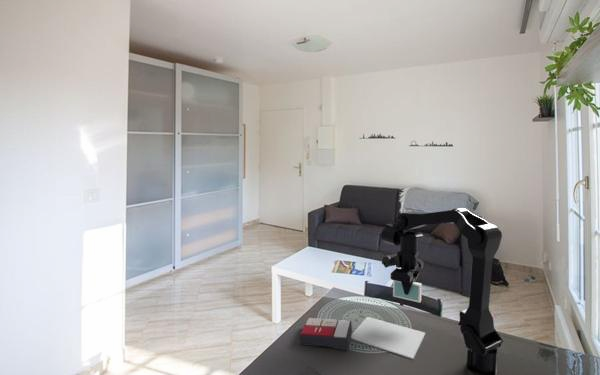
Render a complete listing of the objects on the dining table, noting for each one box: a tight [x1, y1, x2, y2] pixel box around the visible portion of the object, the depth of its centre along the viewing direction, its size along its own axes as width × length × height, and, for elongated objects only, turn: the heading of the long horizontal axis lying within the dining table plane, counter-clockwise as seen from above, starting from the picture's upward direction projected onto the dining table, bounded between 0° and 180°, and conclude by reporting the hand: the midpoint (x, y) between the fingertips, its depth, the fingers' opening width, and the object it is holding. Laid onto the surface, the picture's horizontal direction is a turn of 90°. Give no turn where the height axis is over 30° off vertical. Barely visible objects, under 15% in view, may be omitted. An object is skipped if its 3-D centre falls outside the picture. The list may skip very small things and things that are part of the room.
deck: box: [392, 280, 423, 304], centre depth 109 cm, size 9×2×6 cm, turn 56°
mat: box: [350, 316, 426, 360], centre depth 104 cm, size 20×16×1 cm
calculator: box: [299, 317, 353, 351], centre depth 103 cm, size 11×4×15 cm
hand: (407, 293), depth 109 cm, fingers closed on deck, 2 cm apart
